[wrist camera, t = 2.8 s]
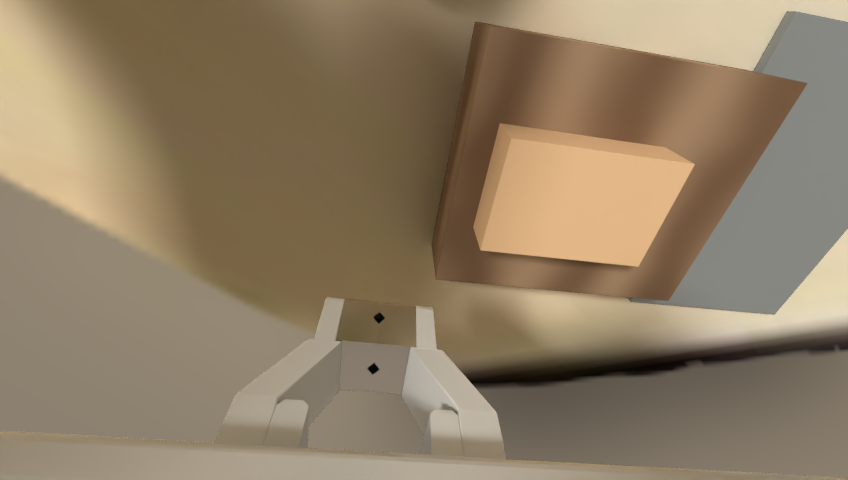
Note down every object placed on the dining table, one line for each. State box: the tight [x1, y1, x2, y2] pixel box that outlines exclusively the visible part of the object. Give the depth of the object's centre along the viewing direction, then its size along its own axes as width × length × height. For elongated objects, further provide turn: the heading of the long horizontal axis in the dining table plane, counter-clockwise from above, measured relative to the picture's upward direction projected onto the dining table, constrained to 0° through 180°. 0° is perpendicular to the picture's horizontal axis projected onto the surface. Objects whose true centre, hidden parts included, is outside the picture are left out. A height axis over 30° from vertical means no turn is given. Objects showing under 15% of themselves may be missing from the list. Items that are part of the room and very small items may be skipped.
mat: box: [628, 11, 848, 315], centre depth 26 cm, size 13×20×1 cm, turn 171°
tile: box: [473, 123, 695, 267], centre depth 20 cm, size 9×6×2 cm, turn 81°
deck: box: [432, 22, 808, 301], centre depth 23 cm, size 16×14×4 cm
